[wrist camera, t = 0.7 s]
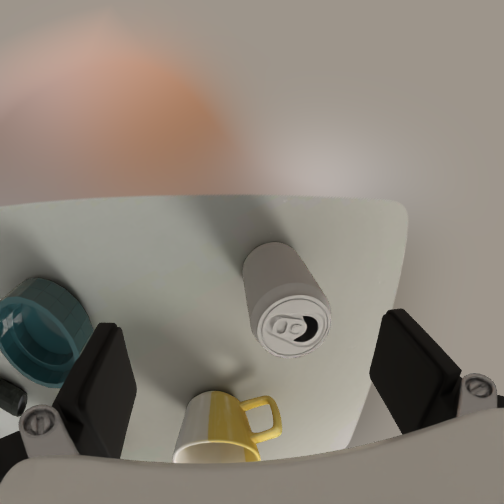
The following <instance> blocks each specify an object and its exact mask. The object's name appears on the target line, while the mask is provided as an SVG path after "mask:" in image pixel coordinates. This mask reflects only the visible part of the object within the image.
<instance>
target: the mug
mask: <svg viewBox="0 0 504 504" xmlns="http://www.w3.org/2000/svg"><path fill="white" fill-rule="evenodd" d="M265 404H269V405H270V407H271V410H272V414H273V427H272V428H270V429H269V430H266V431H263V432H260V433H253V432H252V431H251V428H250V425H249V422H248V419H247V417H246V413H245V411H247V410H249V409H252V408H255V407H258V406H261V405H265ZM281 433H282V423H281V417H280V413H279V409H278V407H277V404H276V402H275V401H274V399H273V398H271V397H270V396H261V397H257V398H254V399H250V400H246V401H242V402H240V401H239V400H238V399H236V398H235V397H233V396H231V395H229V394H227V393H225V392H222V391H208V392H204V393H202V394H200V395H198V396H196V397H194V398H193V399H192V400H191V401H190V402H189V404H188V406H187V409H186V413H185V416H184V419H183V423H182V426H181V429H180V432H179V436H178V439H177V442H176V446H175V449H174V453H173V463H196V464H207V463H239V462H255V461H260V455H259V452H258V449H257V446H256V443H260V442H263V441H266V440H269V439H272V438H275V437H278V436H280V435H281Z"/></svg>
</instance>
